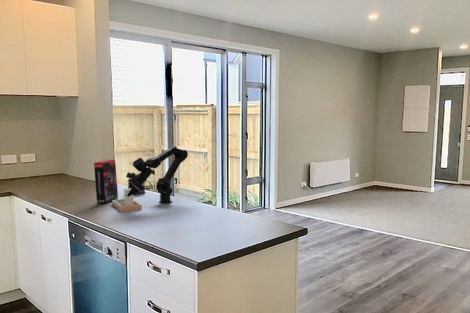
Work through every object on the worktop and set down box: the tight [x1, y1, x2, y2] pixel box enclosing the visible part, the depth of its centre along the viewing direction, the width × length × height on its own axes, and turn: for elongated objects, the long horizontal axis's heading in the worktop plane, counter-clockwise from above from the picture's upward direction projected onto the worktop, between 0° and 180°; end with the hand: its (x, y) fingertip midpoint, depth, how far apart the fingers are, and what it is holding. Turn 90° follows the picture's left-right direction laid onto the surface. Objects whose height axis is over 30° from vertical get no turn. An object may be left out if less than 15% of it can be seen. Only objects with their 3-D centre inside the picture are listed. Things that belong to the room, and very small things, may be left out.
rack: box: [111, 198, 143, 213], centre depth 248 cm, size 23×12×3 cm, turn 31°
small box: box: [134, 182, 146, 195], centre depth 290 cm, size 11×6×10 cm, turn 112°
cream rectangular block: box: [123, 187, 134, 206], centre depth 243 cm, size 4×6×11 cm
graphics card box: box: [93, 159, 119, 205], centre depth 263 cm, size 17×7×27 cm, turn 168°
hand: (126, 195), depth 242 cm, fingers closed on cream rectangular block, 5 cm apart
